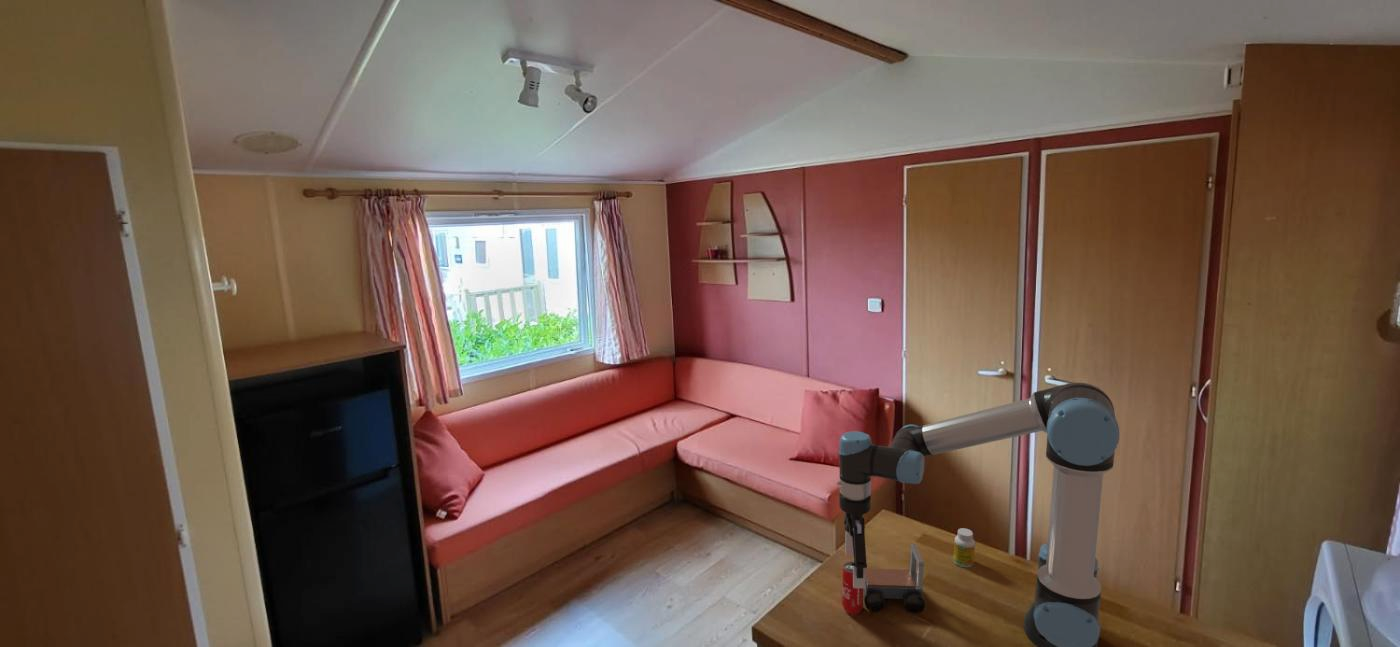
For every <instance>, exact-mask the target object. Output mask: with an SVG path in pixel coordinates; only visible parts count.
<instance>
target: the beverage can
mask: <svg viewBox="0 0 1400 647" xmlns="http://www.w3.org/2000/svg"><path fill="white" fill-rule="evenodd" d="M853 562H854V561H847V562H845V563H844V564H843V567H842V585H841V586H842V590H841V594H842V595H841V604H842V607H843V610H844V611H845V612H846V613H848V614H850V615H858V614H859V613H861V612H862V609H863V608H864V588H853V566H852V565H851V563H853Z"/></svg>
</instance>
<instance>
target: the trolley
mask: <svg viewBox="0 0 1400 647" xmlns="http://www.w3.org/2000/svg"><path fill="white" fill-rule="evenodd" d="M909 565H910V566H909V569H898V568H896V569H895V568H894V569H893V568H868V567H867V568H865V588H863V593H864V594H863V603H864V606H865V608H866V610H868V611H870V612H872V613H878V612H880V611H882V610H884V608H885V606H886V601H885V599H897V600H898V599H899V600H900V599H902V601H903V604H904V606H905V609H906V611H908V612H909V613H912V614H919V613H921V612H923V611H924V610H925V608H926V601H925V598H924V596H923V587H924V585H923V584H924V571H925V570H924V568H925V561H924V559H923V557H922V555H921V552H920V550H919V547H918V545H917V543H911V544H910V564H909ZM875 611H876V612H875Z"/></svg>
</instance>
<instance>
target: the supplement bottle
mask: <svg viewBox="0 0 1400 647" xmlns="http://www.w3.org/2000/svg"><path fill="white" fill-rule="evenodd" d="M975 548H976V541H975V539H974V533H973V531H972V530H971V529H968V528H964V527H963V528H961V527H960V528H958V530H957V535H956V536H955V538H954V544H953V556H952V559H953V562H954V564H955V565H956V566H958V565H959V567H961V568H971V567H973V566H974V562H975V560H974V559H975ZM972 565H973V566H972Z"/></svg>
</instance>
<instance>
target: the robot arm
mask: <svg viewBox="0 0 1400 647" xmlns="http://www.w3.org/2000/svg"><path fill="white" fill-rule="evenodd" d="M1039 432H1043V433H1046V434H1047V435H1046V446H1045V447H1046V450H1045V457H1046V459H1047V460H1048V461H1049V463H1051V464H1052V465H1053V470H1052V484H1051V485H1052V486H1051V494H1050V496H1051V499H1050V507H1049V510H1050V511H1049V521H1048V522H1049V525H1048V536H1047V542H1046V543H1043V544H1042V545H1041V546H1040V549H1039V553H1038V554H1037V556H1038V564H1037V572H1036V573H1037V575H1036V581H1035V582H1036V583H1035V592H1034V594H1035V595H1034V600H1033V602H1032V603H1031V605H1030V606H1029V609H1028V610H1027V612H1026V613H1025V616H1024V621H1023V631H1024V633H1025V635H1026V636H1027V638H1028V640H1030V642H1032V643H1033V644H1034V646H1036V647H1098V644H1099V638H1100V635H1101V634H1100V633H1101V626H1100V607H1101V598H1102V585H1101V583H1100V581H1099V580H1098V579H1097V576H1098V572H1099V562H1098V559H1097V557H1096V555H1097V554H1096V552H1097V546H1098V545H1097V543H1098V536H1099V535H1098V534H1099V533H1098V532H1099V522H1100V513H1101V502H1102V501H1101V500H1102V490H1103V478H1104V474H1106V473H1108V472H1109V471H1111V470H1112V469H1113V468H1114V463H1115V462H1114V460H1115V453H1116V452H1115V451H1116V449H1117V448H1118V445H1119V441H1120V426H1119V423H1118V421H1117V419H1116V414H1115V407H1114V405H1113V402H1112V399H1111V398H1110V397H1109V395H1108V394H1107V393H1106V392H1105V391H1104V390H1102V389H1101V388H1099V387H1097V386H1095V385H1092V384H1089V383H1085V382H1069V383H1065V384H1060V385H1057V386H1053V387H1049V388H1047V389H1042V390H1037V391H1035V392H1033V393H1032V394H1031V395H1030V397H1029V398H1025V399H1022V400H1018V401H1014V402H1010V403H1005V404H1001V405H998V406H994V407H991V408H986V409H982V410H978V411H974V412H971V413H967V414H963V415H959V416H954V417H952V418H948V419H944V420H939V421H936V422H932V423H928V424H925V425H924V424H923V425H920V426H919V425H917V424H911V423H910V424H907V425H903V427H901V428H900V429H899V430H898V431H897V432H896V433H895V436H894V438H893V439H892V441H890V442H891V443H890V444H889V445H888V446H885V445H884V446H883V445H879V444H873V442H872V438H871V436H870V435H869V434H868V433H865V432H864V431H863V432H862V431H856V430H853V431H847V432H845V433H842V435H840V438H839V450H838V456H839V458H838V460H839V461H838V462H839V464H838V466H839V480H837V482H836V484H837V485H838V486H839V494H838V495H839V499H838V500H839V501H838V502H839V503H838V504H839V505H838V506H839V508H840V510H841V511H842V512H844V520H843V521H844V522H843V524H844V526H845V527H844V530H845V540H844V543H845V544H844V545H845V548H844V549H845V553H844V554H845V556H846V557H849V556H851V557H852V556H853V561H852V562H853V563H851V565H852V566H853V588H863V589H864V588H865V568H868V564H867V553H866V552H867V550H866V549H867V548H866V535H865V533H866V532H865V529H866V526H865V518H864V517H863V515H865V514H867V513H869V512H870V510H871V506H872V505H871V504H872V503H871V501H872V500H871V499H872V497H871V494H872V478H871V477H875V478H879V479H884V480H889V481H893V482H898V483H899V482H900V483H902V484H912V485H913V484H914V485H918V484H920V483H921V482H922V480H923V475H924V472H925V458H926V457H931V456H934V455H938V454H943V453H947V452H952V451H957V450H961V449H965V448H971V447H975V446H979V445H985V444H988V443H989V444H990V443H993V442H997V441H1003V440H1006V439H1007V440H1008V439H1011V438H1015V437H1016V438H1017V437H1019V436H1024V435H1030V434H1034V433H1039Z"/></svg>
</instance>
